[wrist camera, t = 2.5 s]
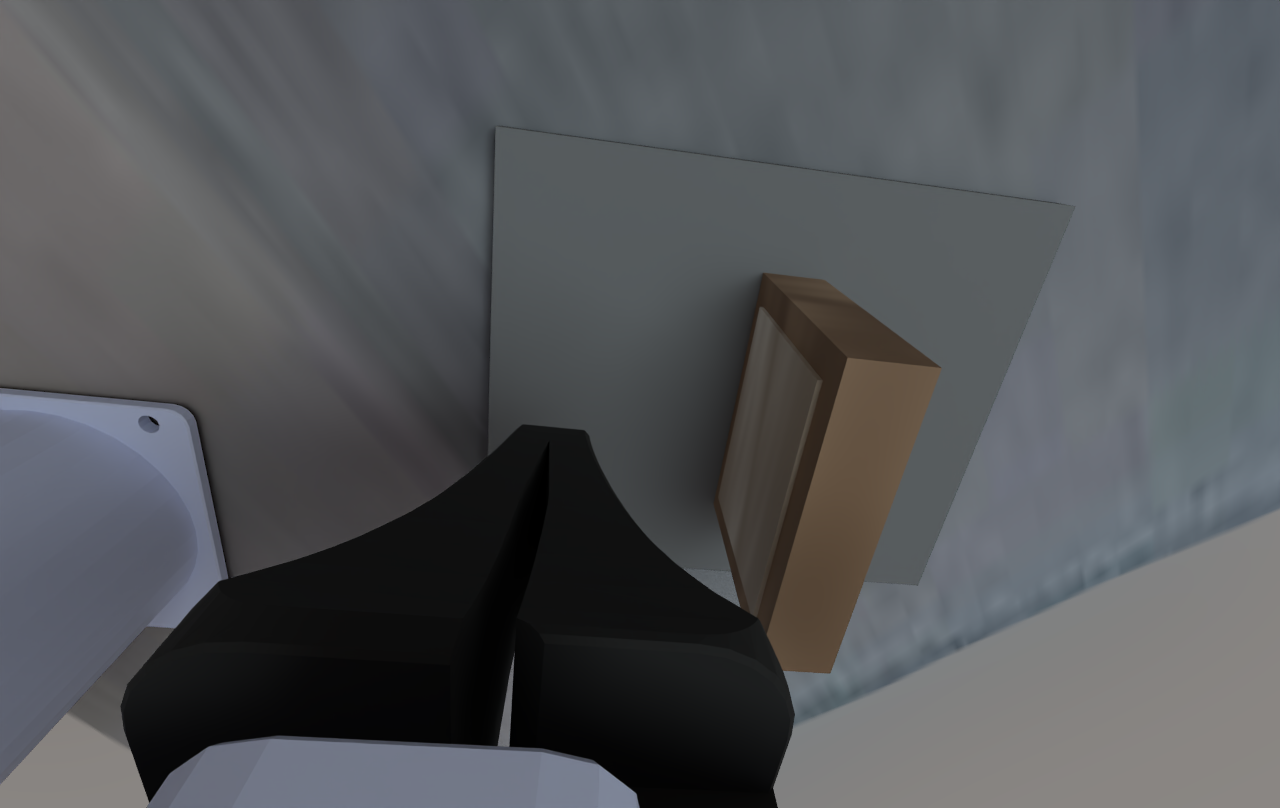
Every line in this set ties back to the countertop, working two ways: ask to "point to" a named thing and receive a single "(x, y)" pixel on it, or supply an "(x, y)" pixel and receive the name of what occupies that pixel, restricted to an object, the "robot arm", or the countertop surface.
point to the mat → (738, 313)
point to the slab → (815, 461)
